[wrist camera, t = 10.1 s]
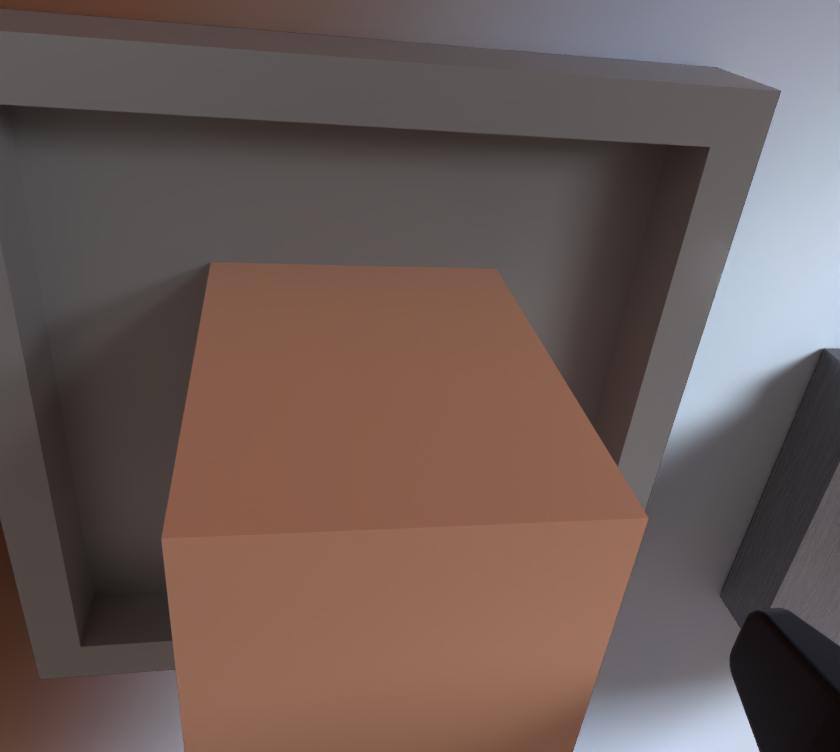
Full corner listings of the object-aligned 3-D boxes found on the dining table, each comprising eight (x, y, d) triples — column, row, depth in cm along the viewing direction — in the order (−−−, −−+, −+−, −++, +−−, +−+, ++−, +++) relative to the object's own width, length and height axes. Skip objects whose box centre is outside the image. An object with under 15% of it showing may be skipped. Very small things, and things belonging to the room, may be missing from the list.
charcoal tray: (716, 67, 12) (781, 90, 10) (575, 575, 17) (603, 638, 16) (-62, 3, 10) (-123, 20, 8) (62, 603, 15) (39, 679, 14)
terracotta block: (496, 269, 12) (647, 517, 7) (462, 484, 15) (561, 786, 10) (210, 262, 12) (161, 538, 6) (223, 492, 14) (192, 828, 9)
